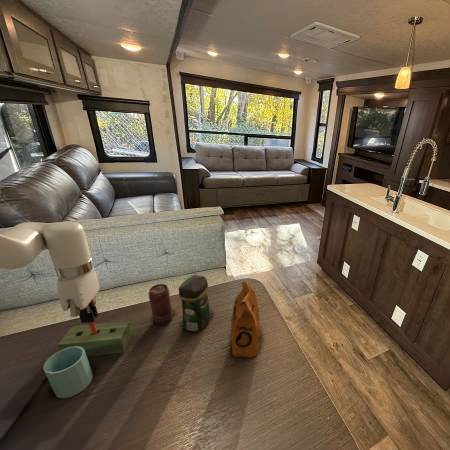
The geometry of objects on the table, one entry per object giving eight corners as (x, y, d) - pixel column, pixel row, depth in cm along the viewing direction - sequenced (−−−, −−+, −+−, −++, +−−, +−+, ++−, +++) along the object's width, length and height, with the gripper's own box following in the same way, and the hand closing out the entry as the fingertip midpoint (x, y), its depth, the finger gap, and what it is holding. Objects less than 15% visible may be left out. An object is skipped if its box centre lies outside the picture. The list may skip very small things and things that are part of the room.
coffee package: (227, 360, 78) (225, 305, 69) (233, 329, 89) (232, 278, 80) (259, 359, 79) (261, 305, 70) (261, 329, 90) (263, 279, 81)
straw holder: (124, 352, 77) (120, 338, 75) (63, 359, 73) (57, 344, 71) (132, 334, 83) (129, 320, 81) (77, 340, 79) (71, 326, 77)
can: (149, 321, 89) (143, 290, 83) (165, 311, 94) (160, 281, 88) (160, 329, 86) (155, 297, 81) (176, 317, 91) (172, 287, 86)
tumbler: (47, 400, 63) (35, 375, 59) (66, 372, 70) (56, 348, 66) (83, 395, 65) (73, 370, 61) (98, 368, 72) (90, 344, 68)
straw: (93, 341, 76) (82, 306, 71) (95, 338, 77) (84, 303, 72) (98, 341, 76) (87, 306, 71) (100, 338, 78) (89, 303, 72)
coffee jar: (194, 311, 95) (190, 270, 88) (213, 315, 94) (211, 274, 87) (179, 330, 86) (173, 287, 79) (200, 334, 85) (195, 291, 78)
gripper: (75, 253, 72) (89, 302, 79) (37, 285, 59) (58, 342, 66) (104, 252, 74) (116, 301, 81) (74, 283, 61) (91, 338, 68)
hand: (90, 319), depth 74 cm, fingers closed on straw, 1 cm apart
